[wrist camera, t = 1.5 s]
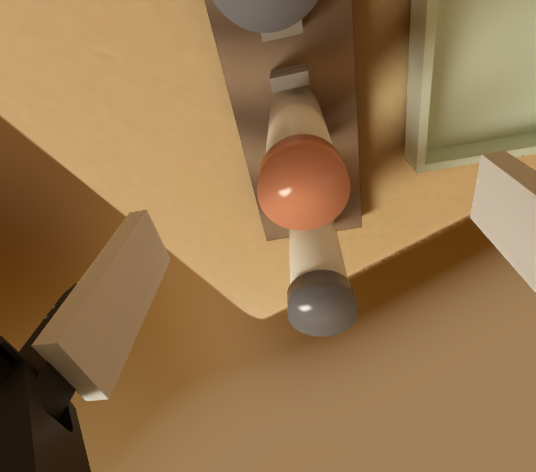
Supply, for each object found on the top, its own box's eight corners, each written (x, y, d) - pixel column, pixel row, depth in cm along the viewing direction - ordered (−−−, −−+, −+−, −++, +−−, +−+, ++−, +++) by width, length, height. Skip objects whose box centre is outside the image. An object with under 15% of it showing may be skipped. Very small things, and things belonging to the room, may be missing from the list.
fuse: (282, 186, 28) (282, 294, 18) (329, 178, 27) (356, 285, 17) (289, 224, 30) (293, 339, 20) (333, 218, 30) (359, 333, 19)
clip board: (189, -77, 19) (168, -94, 16) (341, -123, 18) (356, -153, 14) (267, 232, 33) (265, 261, 29) (358, 218, 31) (369, 247, 28)
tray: (413, -60, 20) (431, -68, 17) (622, -115, 18) (675, -133, 15) (404, 157, 28) (416, 173, 25) (548, 133, 26) (575, 147, 24)
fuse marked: (262, 87, 23) (247, 157, 13) (318, 76, 23) (347, 139, 13) (273, 141, 26) (267, 236, 15) (324, 132, 25) (352, 223, 15)
